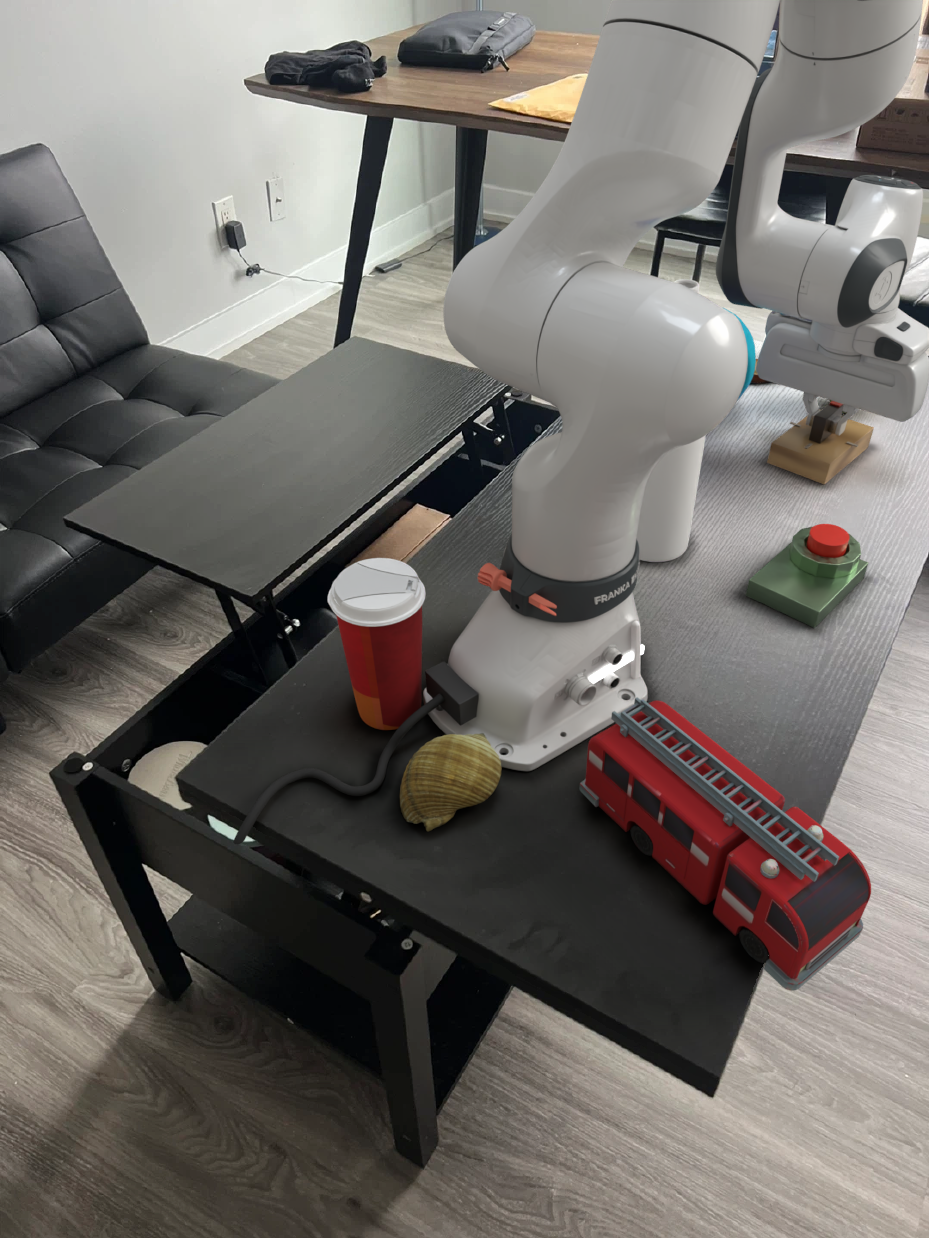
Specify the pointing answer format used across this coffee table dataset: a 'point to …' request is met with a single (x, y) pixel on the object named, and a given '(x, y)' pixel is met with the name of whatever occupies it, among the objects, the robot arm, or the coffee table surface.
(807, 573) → the green lamp base
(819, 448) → the panel
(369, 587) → the coffee cup
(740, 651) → the coffee table surface
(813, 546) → the lamp button
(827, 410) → the knob
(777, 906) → the toy
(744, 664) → the coffee table surface
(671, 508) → the bottle
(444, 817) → the seashell
